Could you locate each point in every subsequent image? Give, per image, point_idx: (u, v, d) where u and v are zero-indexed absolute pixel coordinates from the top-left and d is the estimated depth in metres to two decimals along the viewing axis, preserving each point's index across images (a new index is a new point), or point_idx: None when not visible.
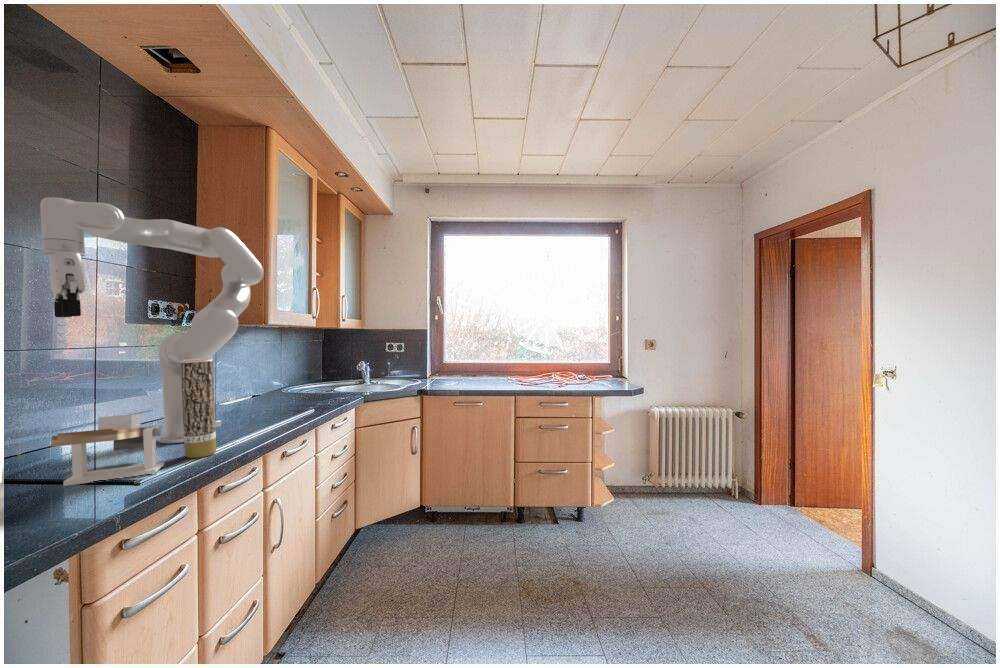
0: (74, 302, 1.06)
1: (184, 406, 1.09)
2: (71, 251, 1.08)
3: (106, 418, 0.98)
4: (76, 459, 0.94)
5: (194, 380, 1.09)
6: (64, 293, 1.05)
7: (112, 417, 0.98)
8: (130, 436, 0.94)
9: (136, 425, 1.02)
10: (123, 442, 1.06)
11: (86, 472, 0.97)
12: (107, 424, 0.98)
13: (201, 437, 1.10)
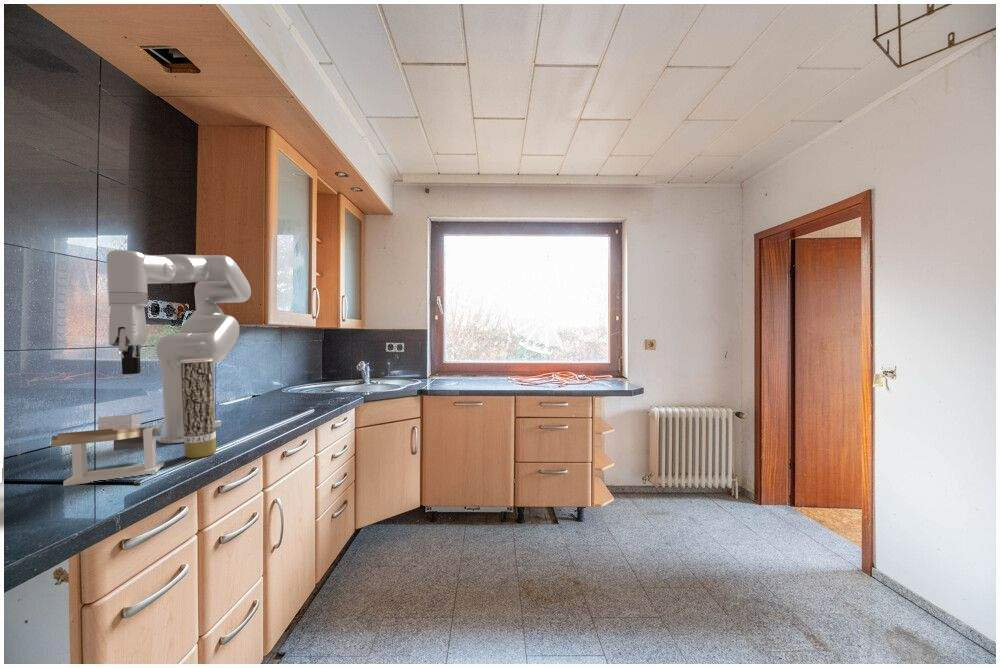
0: None
1: (184, 406, 1.09)
2: None
3: (106, 418, 0.98)
4: (76, 459, 0.94)
5: (194, 380, 1.09)
6: None
7: (112, 417, 0.98)
8: (130, 436, 0.94)
9: (136, 425, 1.02)
10: (123, 442, 1.06)
11: (86, 472, 0.97)
12: (107, 424, 0.98)
13: (201, 437, 1.10)
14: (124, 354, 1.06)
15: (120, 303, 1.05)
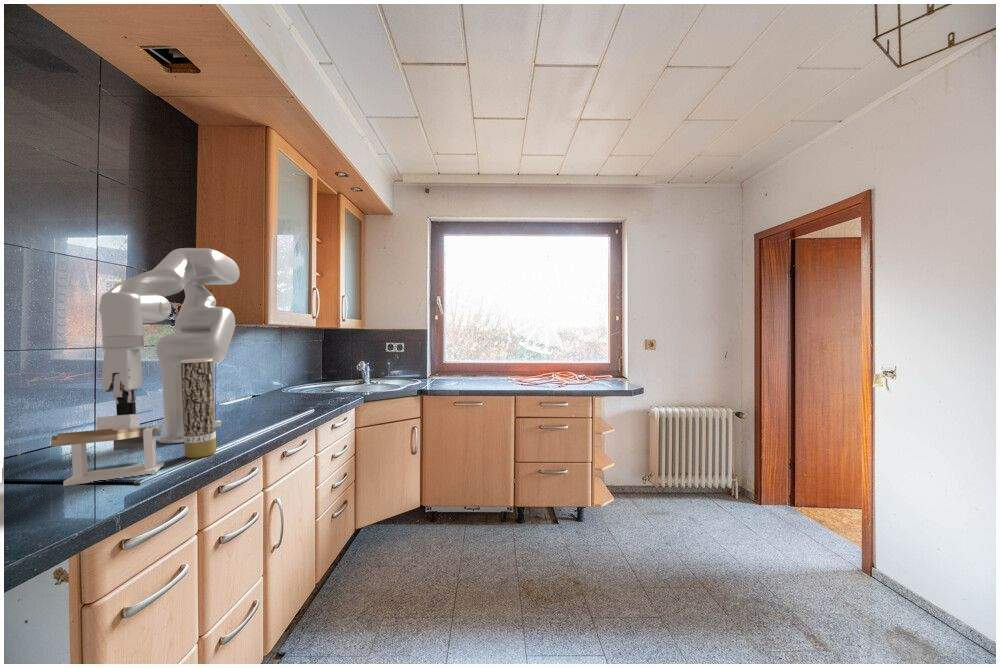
0: None
1: (184, 406, 1.09)
2: None
3: (104, 418, 0.97)
4: (76, 459, 0.94)
5: (194, 380, 1.09)
6: None
7: (110, 417, 0.98)
8: (130, 436, 0.94)
9: (134, 425, 1.01)
10: (123, 442, 1.06)
11: (86, 472, 0.97)
12: (106, 424, 0.97)
13: (201, 437, 1.10)
14: (119, 400, 1.02)
15: (114, 347, 1.01)
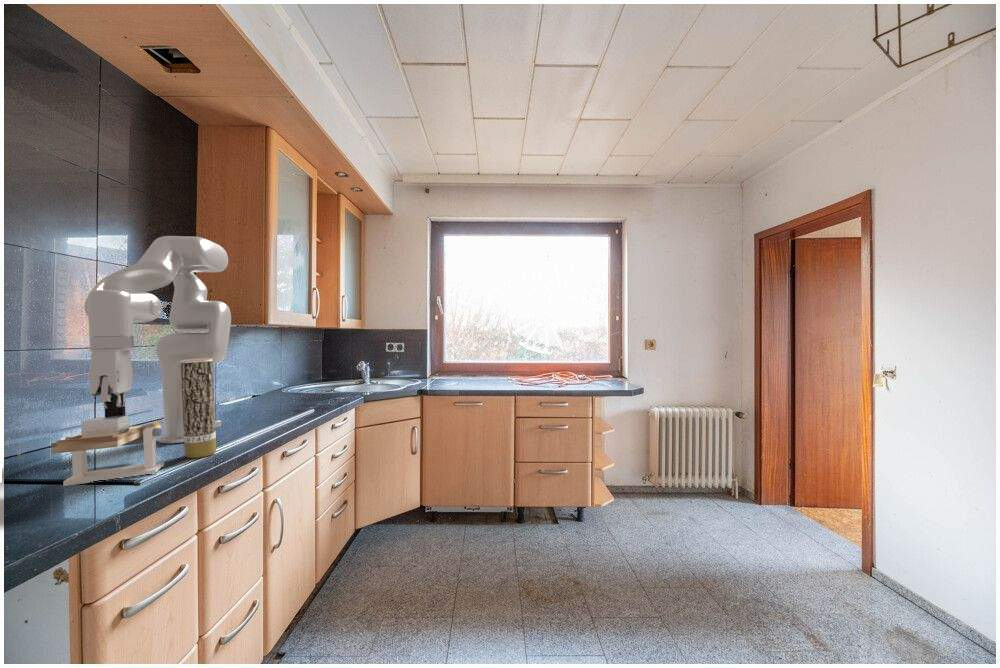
0: None
1: (184, 406, 1.09)
2: None
3: (90, 422, 0.91)
4: (76, 459, 0.94)
5: (194, 380, 1.09)
6: None
7: (96, 421, 0.91)
8: (130, 439, 0.94)
9: (123, 428, 0.95)
10: None
11: (86, 472, 0.97)
12: (91, 428, 0.91)
13: (201, 437, 1.10)
14: (107, 404, 0.96)
15: (102, 349, 0.95)
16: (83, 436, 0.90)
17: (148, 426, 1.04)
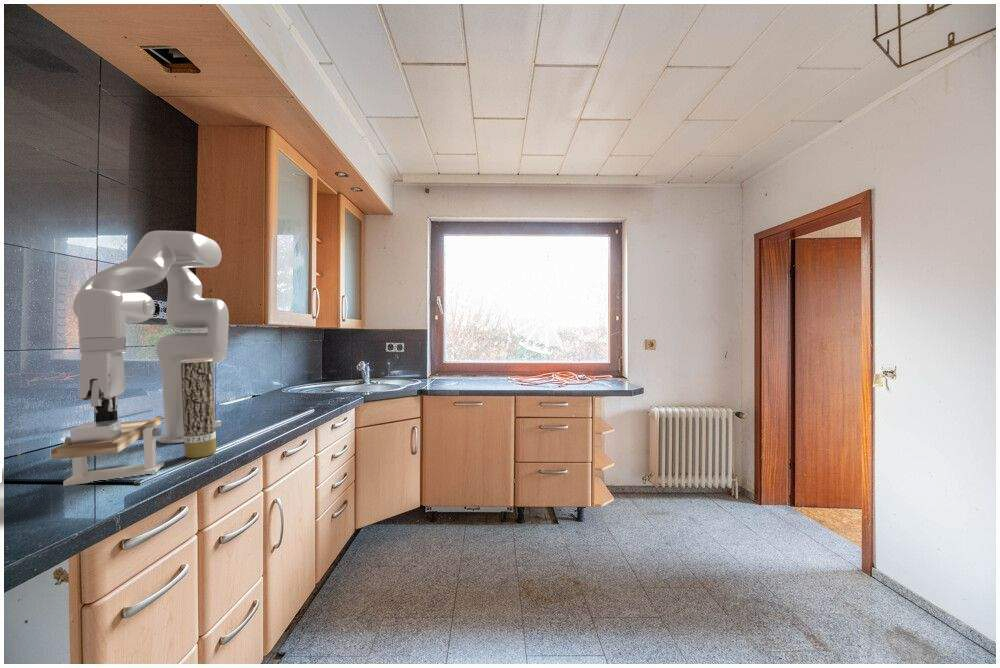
0: None
1: (184, 406, 1.09)
2: None
3: (79, 430, 0.87)
4: (76, 459, 0.94)
5: (194, 380, 1.09)
6: None
7: (86, 429, 0.87)
8: (130, 442, 0.94)
9: (115, 435, 0.91)
10: None
11: (86, 472, 0.97)
12: (81, 436, 0.87)
13: (201, 437, 1.10)
14: (98, 409, 0.92)
15: (92, 351, 0.91)
16: (73, 444, 0.86)
17: (148, 425, 1.04)
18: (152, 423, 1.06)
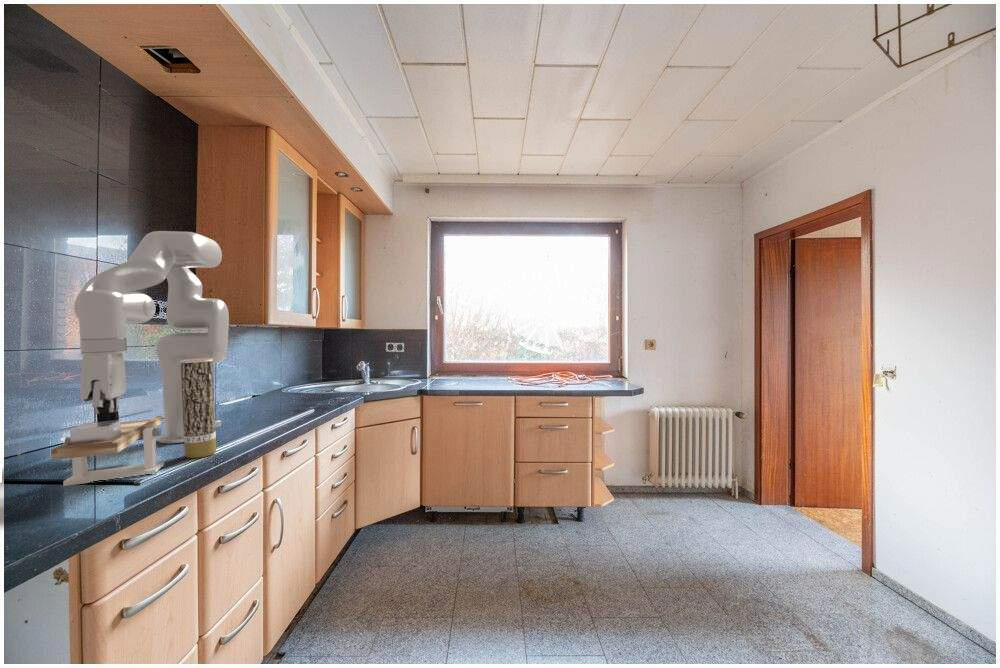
0: None
1: (184, 406, 1.09)
2: None
3: (79, 430, 0.86)
4: (76, 459, 0.94)
5: (194, 380, 1.09)
6: None
7: (86, 429, 0.87)
8: (130, 442, 0.94)
9: (115, 435, 0.91)
10: None
11: (86, 472, 0.97)
12: (81, 437, 0.87)
13: (201, 437, 1.10)
14: (99, 409, 0.93)
15: (94, 352, 0.91)
16: (73, 444, 0.86)
17: (148, 425, 1.04)
18: (152, 423, 1.06)
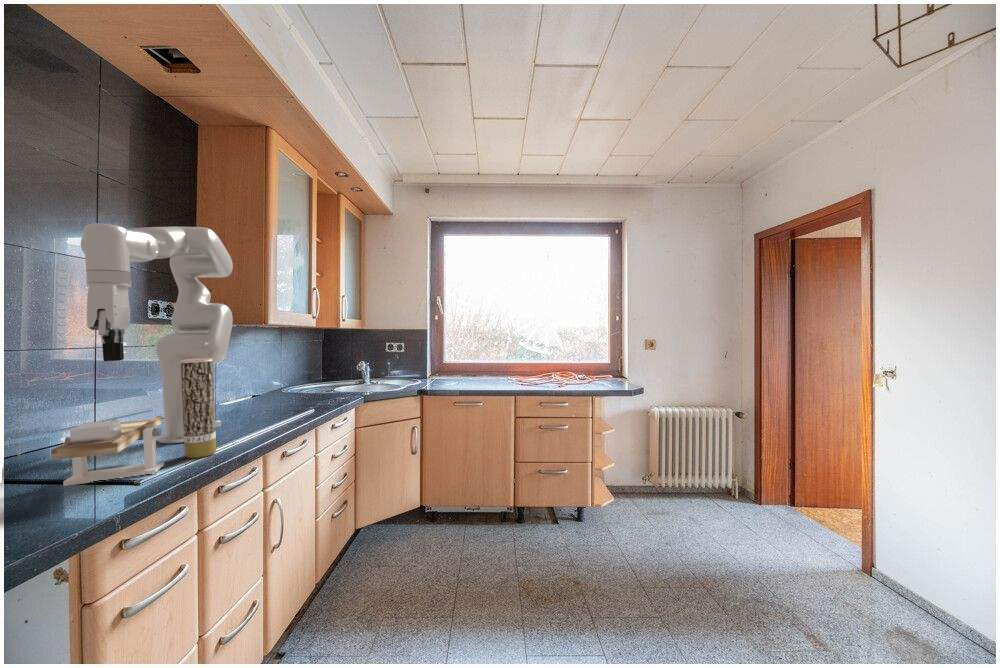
0: None
1: (184, 406, 1.09)
2: None
3: (79, 430, 0.86)
4: (76, 459, 0.94)
5: (194, 380, 1.09)
6: None
7: (86, 429, 0.87)
8: (130, 442, 0.94)
9: (115, 435, 0.91)
10: None
11: (86, 472, 0.97)
12: (81, 437, 0.87)
13: (201, 437, 1.10)
14: (105, 339, 0.96)
15: (99, 282, 0.94)
16: (73, 444, 0.86)
17: (148, 425, 1.04)
18: (152, 423, 1.06)
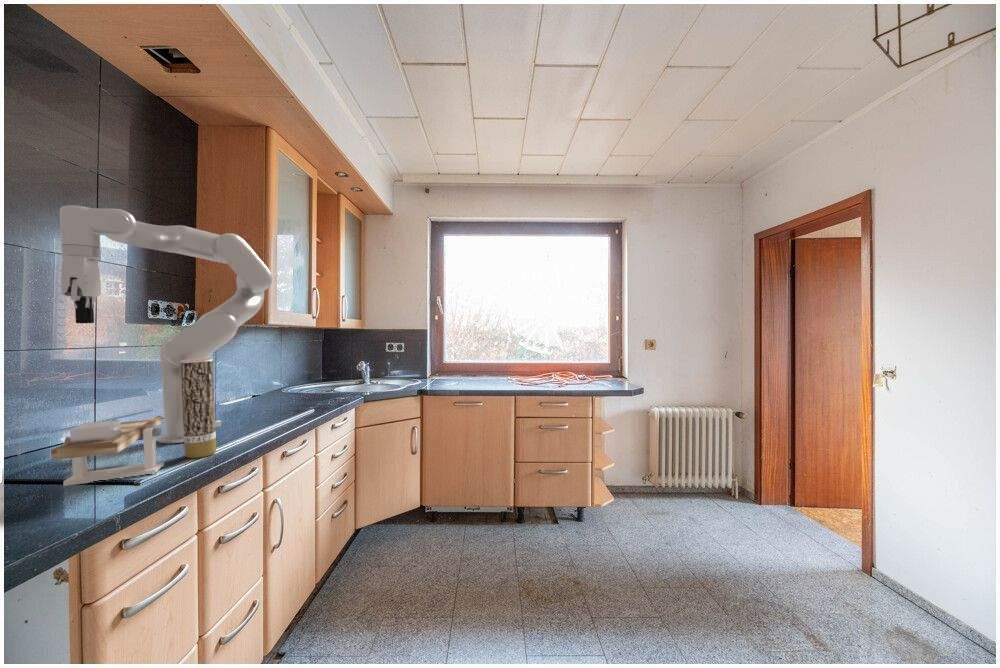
0: None
1: (184, 406, 1.09)
2: None
3: (79, 430, 0.86)
4: (76, 459, 0.94)
5: (194, 380, 1.09)
6: None
7: (86, 429, 0.87)
8: (130, 442, 0.94)
9: (115, 435, 0.91)
10: None
11: (86, 472, 0.97)
12: (81, 437, 0.87)
13: (201, 437, 1.10)
14: (77, 304, 1.13)
15: (72, 255, 1.11)
16: (73, 444, 0.86)
17: (148, 425, 1.04)
18: (152, 423, 1.06)
